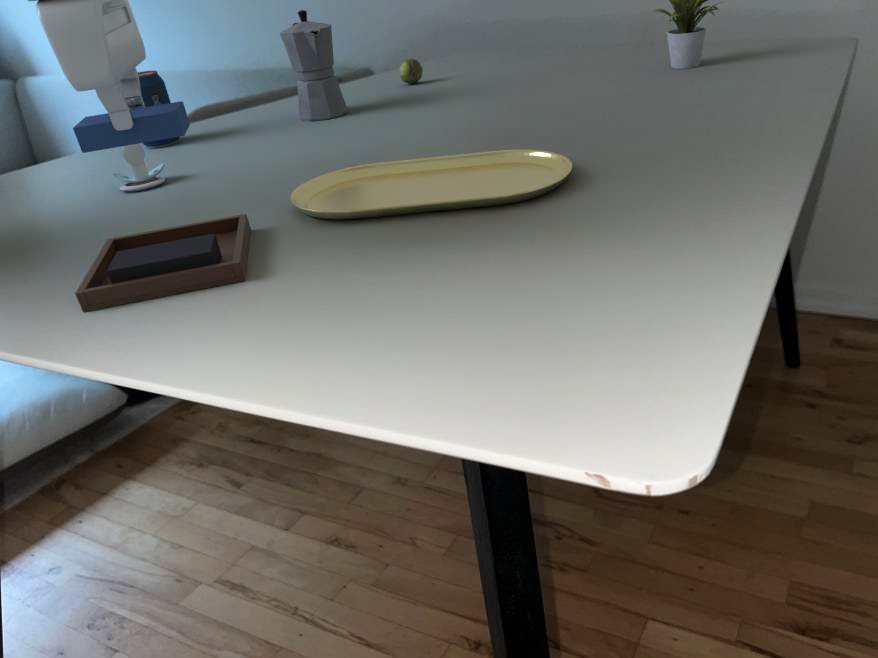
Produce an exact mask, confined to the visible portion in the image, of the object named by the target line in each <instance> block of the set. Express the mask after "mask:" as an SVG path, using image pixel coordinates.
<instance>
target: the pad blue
mask: <svg viewBox="0 0 878 658" xmlns="http://www.w3.org/2000/svg"><path fill="white" fill-rule="evenodd" d="M131 111H132V114H133V117H134V120H135V123H134V126H133V127H132V128H131V129H127V130H120V131H119V130H116V129H115V128H114V126H113V124H112V121H111V118H110V116H109V113H108V112H106V113H100V114H95V115H89V116H85V117H84V118H82V119H81V120H80V121H78V123H77V124H75V125H74V126H73V127H72V130H73V133H74V136H75V138H76V140H77V143H78V146H79V148H80V150H81V153H82V154H85V153H91V152H97V151H102V150H108V149H109V150H110V149H115V148H120V147H121V148H122V147H123V146H127V145H133V144H139V145H140V144H143V143H145V142H151V141H157V140H163V139H169V138H175V137H185V136H186V134H187V132H188V130H189V128H190V126H191V123H190V120H189V117H188V113H187V110H186V106H185V104H184V101H175V102H171V103H168V104H162V105H156V106H150V107H144V108H137V109H131Z"/></svg>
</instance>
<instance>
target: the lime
mask: <svg viewBox="0 0 878 658" xmlns="http://www.w3.org/2000/svg"><path fill="white" fill-rule="evenodd" d="M423 71H424V69H423V65H422V64H421V62H420V61H419V60H417V59H415V58H408V59H406V60H404V61H403V62H402V63H401V65H400V66H399V68H398V76H399V78H400V80H401V81H402V82H403V83H405V84H409V85H414V84H417V83H418V82H419V81H420V80H421V79H422V77H423V73H424V72H423Z"/></svg>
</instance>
